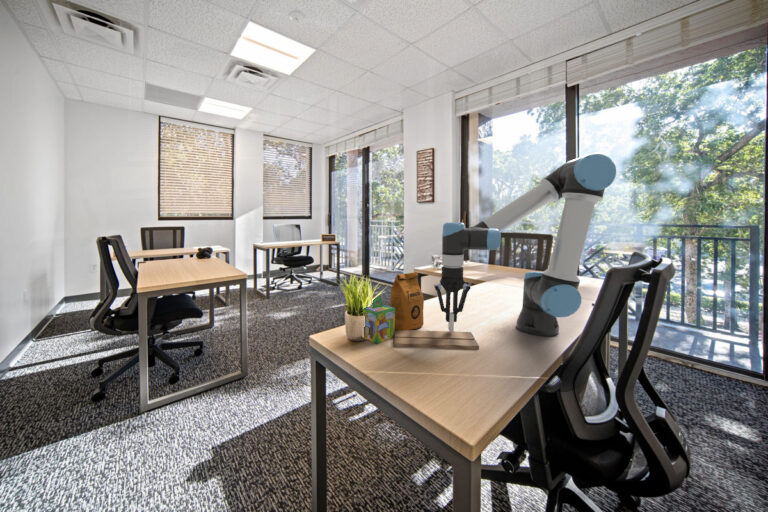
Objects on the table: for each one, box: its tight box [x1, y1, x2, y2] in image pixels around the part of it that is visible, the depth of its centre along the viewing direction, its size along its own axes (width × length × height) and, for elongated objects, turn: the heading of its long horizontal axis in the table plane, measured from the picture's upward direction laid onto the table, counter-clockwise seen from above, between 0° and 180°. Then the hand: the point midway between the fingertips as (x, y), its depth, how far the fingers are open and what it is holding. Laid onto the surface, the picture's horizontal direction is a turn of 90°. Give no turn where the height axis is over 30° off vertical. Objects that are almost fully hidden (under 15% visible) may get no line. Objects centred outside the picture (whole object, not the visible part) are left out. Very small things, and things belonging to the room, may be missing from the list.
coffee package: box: [389, 271, 425, 330], centre depth 123 cm, size 10×12×22 cm
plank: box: [394, 329, 476, 340], centre depth 114 cm, size 28×6×1 cm, turn 87°
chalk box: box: [362, 296, 396, 345], centre depth 114 cm, size 9×9×15 cm
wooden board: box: [393, 337, 480, 351], centre depth 112 cm, size 28×12×2 cm, turn 87°
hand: (450, 330), depth 115 cm, fingers closed
